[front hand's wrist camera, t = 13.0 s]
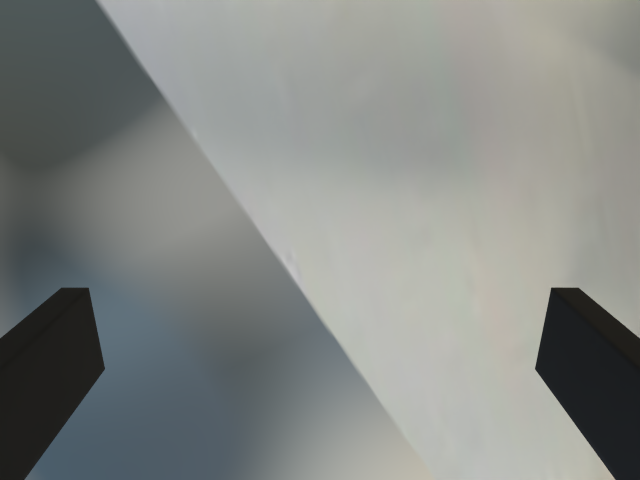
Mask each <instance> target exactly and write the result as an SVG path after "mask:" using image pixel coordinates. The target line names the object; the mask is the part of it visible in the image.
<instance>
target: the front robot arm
mask: <svg viewBox="0 0 640 480" xmlns="http://www.w3.org/2000/svg"><path fill="white" fill-rule="evenodd" d="M104 369H105V367H104V362H103V357H102V352H101V347H100V342H99V337H98V332H97V327H96V322H95V317H94V312H93V307H92V302H91V297H90V292H89V288H61V289H59V290H58V291H57V292H56V293H55V294H53V295H52V296H51V297H50V298H49V299H47V300H46V301H45V302H44V303H43V304H41V305H40V306H39V307H38V308H37V309H35V310H34V311H33V312H32V313H31V314H29V315H28V316H27V317H26V318H24V319H23V320H22V321H21V322H20V323H18V324H17V325H16V326H15V327H14V328H12V329H11V330H10V331H9V332H8V333H6V334H5V335H4V336H3V337H1V338H0V480H24V479H25V478H26V477H27V475H28V474H29V473H30V471H31V470H32V468H33V467H34V466H35V464H36V463H37V462H38V460H39V459H40V458H41V456H42V455H43V453H44V452H45V451H46V449H47V448H48V447H49V445H50V444H51V442H52V441H53V440H54V438H55V437H56V436H57V434H58V433H59V431H60V430H61V429H62V427H63V426H64V425H65V423H66V422H67V420H68V419H69V418H70V416H71V415H72V414H73V412H74V411H75V409H76V408H77V407H78V405H79V404H80V403H81V401H82V400H83V398H84V397H85V396H86V394H87V393H88V392H89V390H90V389H91V387H92V386H93V385H94V383H95V382H96V381H97V379H98V378H99V376H100V375H101V374H102V372H103V371H104ZM535 370H536V371H537V372H538V374H539V375H540V376H541V378H542V379H543V381H544V382H545V383H546V385H547V386H548V387H549V389H550V390H551V392H552V393H553V394H554V396H555V397H556V398H557V400H558V401H559V403H560V404H561V405H562V407H563V408H564V409H565V411H566V412H567V414H568V415H569V416H570V418H571V419H572V420H573V422H574V423H575V425H576V426H577V427H578V429H579V430H580V431H581V433H582V434H583V436H584V437H585V438H586V440H587V441H588V442H589V444H590V445H591V447H592V448H593V449H594V451H595V452H596V453H597V455H598V456H599V458H600V459H601V460H602V462H603V463H604V464H605V466H606V467H607V468H608V470H609V471H610V473H611V474H612V475H613V477H614V478H615V479H616V480H640V338H639V337H637V336H636V335H635V334H634V333H632V332H631V331H630V330H629V329H628V328H626V327H625V326H624V325H623V324H622V323H620V322H619V321H618V320H617V319H616V318H614V317H613V316H612V315H611V314H610V313H608V312H607V311H606V310H605V309H603V308H602V307H601V306H600V305H599V304H597V303H596V302H595V301H594V300H593V299H591V298H590V297H589V296H588V295H587V294H585V293H584V292H583V291H582V290H581V289H579V288H551V292H550V297H549V302H548V307H547V312H546V317H545V322H544V327H543V332H542V337H541V342H540V347H539V352H538V357H537V362H536V367H535Z"/></svg>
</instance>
